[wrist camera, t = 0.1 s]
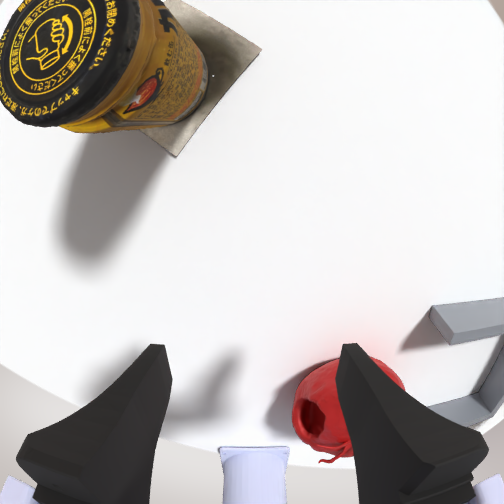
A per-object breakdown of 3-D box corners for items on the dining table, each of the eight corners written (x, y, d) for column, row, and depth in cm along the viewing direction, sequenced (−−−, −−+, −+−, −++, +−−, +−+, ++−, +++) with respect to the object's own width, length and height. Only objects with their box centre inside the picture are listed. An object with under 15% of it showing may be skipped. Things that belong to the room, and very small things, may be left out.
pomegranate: (385, 323, 24) (432, 403, 15) (393, 393, 27) (423, 463, 19) (273, 362, 25) (283, 456, 16) (303, 424, 29) (315, 499, 20)
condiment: (94, 98, 17) (-46, 99, 6) (171, -5, 14) (92, -105, 3) (177, 156, 18) (80, 208, 7) (262, 50, 16) (277, -47, 5)
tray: (480, 396, 29) (492, 417, 25) (386, 420, 29) (395, 447, 26) (531, 293, 23) (552, 312, 19) (432, 305, 23) (454, 333, 19)
